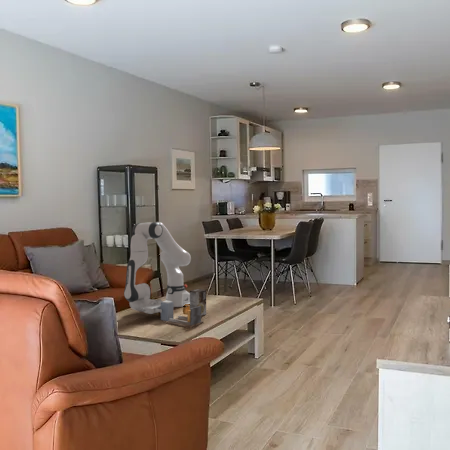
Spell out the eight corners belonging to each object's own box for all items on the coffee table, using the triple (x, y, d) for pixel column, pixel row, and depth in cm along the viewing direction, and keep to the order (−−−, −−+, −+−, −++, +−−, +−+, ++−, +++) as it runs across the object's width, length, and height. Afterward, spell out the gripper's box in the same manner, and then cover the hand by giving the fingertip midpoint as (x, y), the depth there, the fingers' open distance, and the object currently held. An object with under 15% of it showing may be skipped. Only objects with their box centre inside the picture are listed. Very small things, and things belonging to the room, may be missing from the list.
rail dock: (180, 318, 321) (180, 301, 320) (203, 322, 311) (203, 305, 310) (165, 323, 309) (165, 305, 309) (189, 328, 299) (189, 309, 298)
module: (166, 318, 322) (166, 300, 321) (173, 319, 318) (173, 301, 318) (160, 319, 318) (160, 301, 317) (168, 321, 314) (168, 302, 313)
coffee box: (199, 312, 336) (200, 288, 335) (206, 314, 332) (206, 289, 330) (189, 315, 330) (189, 290, 329) (196, 317, 325) (196, 291, 324)
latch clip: (193, 321, 310) (193, 308, 309) (195, 321, 309) (195, 309, 308) (187, 323, 305) (187, 310, 304) (189, 324, 304) (189, 310, 303)
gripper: (139, 304, 317) (156, 307, 309) (161, 298, 333) (177, 301, 325) (139, 314, 317) (156, 317, 309) (161, 308, 334) (177, 311, 326)
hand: (167, 309), depth 317 cm, fingers open, 8 cm apart
